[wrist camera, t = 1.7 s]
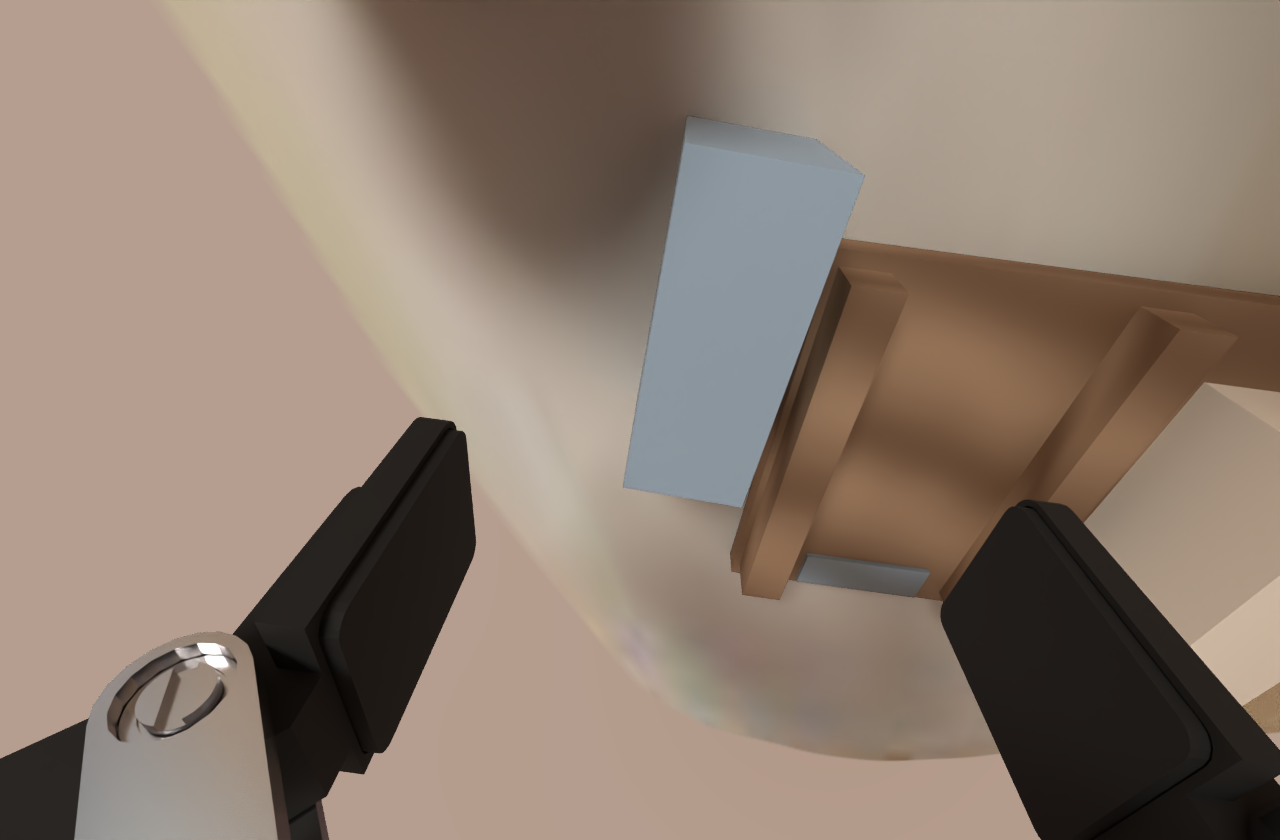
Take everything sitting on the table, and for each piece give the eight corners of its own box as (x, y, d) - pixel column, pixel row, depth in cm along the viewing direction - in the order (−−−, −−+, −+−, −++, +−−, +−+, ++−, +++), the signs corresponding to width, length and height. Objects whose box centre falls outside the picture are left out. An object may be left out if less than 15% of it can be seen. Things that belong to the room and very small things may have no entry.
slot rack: (828, 236, 15) (848, 265, 13) (1482, 323, 15) (1604, 365, 13) (730, 553, 24) (733, 601, 21) (1155, 611, 23) (1199, 665, 21)
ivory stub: (1204, 382, 16) (1379, 497, 12) (1320, 397, 16) (1535, 518, 12) (1041, 572, 21) (1123, 697, 17) (1128, 584, 21) (1232, 712, 17)
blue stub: (687, 115, 14) (684, 142, 10) (815, 138, 14) (864, 175, 10) (637, 394, 19) (622, 487, 15) (731, 410, 19) (741, 507, 15)
